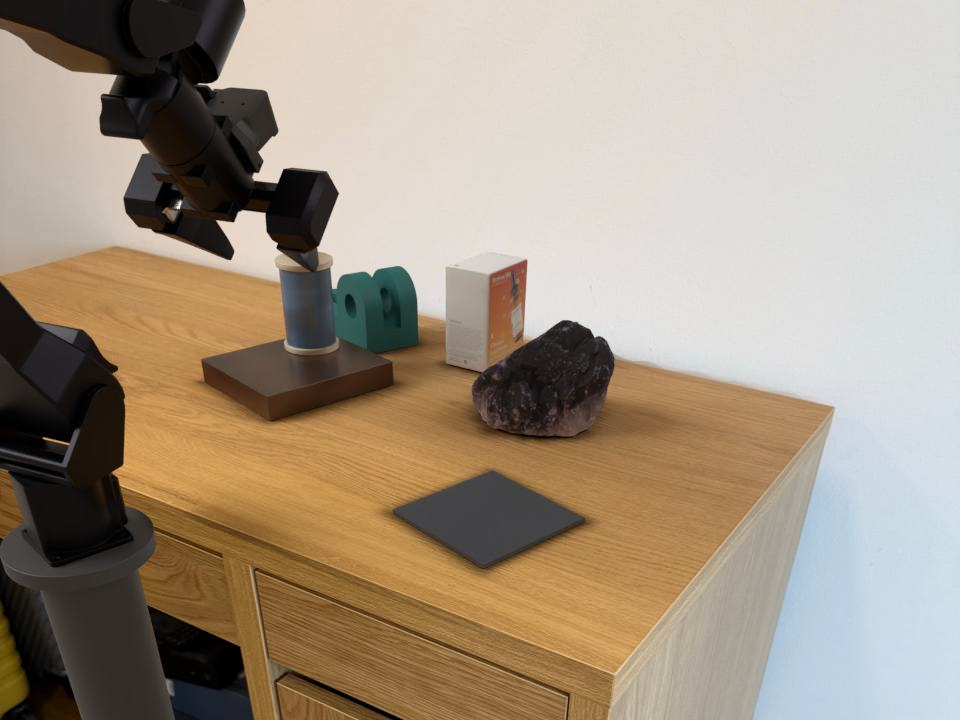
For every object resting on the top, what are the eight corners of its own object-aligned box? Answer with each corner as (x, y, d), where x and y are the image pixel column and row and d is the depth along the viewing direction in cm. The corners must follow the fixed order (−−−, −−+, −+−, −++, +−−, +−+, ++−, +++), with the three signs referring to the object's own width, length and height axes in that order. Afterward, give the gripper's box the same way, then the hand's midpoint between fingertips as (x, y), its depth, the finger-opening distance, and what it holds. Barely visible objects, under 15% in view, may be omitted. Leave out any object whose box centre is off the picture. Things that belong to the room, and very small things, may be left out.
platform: (270, 421, 88) (266, 396, 86) (204, 382, 96) (200, 358, 94) (393, 384, 96) (392, 361, 95) (324, 351, 104) (322, 329, 102)
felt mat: (483, 569, 67) (483, 564, 67) (392, 513, 74) (392, 509, 74) (584, 521, 73) (585, 517, 73) (492, 474, 80) (492, 470, 80)
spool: (304, 359, 94) (295, 269, 89) (274, 344, 98) (263, 256, 92) (350, 347, 98) (344, 259, 92) (319, 333, 101) (312, 247, 96)
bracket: (418, 344, 106) (416, 273, 101) (367, 354, 103) (363, 282, 98) (344, 303, 118) (340, 239, 113) (296, 312, 115) (290, 246, 110)
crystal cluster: (447, 411, 92) (444, 316, 86) (552, 374, 98) (557, 281, 91) (527, 470, 84) (530, 370, 78) (636, 426, 90) (648, 329, 83)
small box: (486, 375, 99) (489, 274, 92) (444, 364, 101) (443, 265, 95) (524, 354, 104) (529, 257, 98) (483, 344, 106) (485, 249, 100)
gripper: (321, 54, 69) (389, 197, 84) (122, 42, 75) (219, 178, 89) (271, 180, 67) (350, 304, 82) (71, 157, 73) (179, 277, 87)
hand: (273, 261), depth 85 cm, fingers open, 9 cm apart
